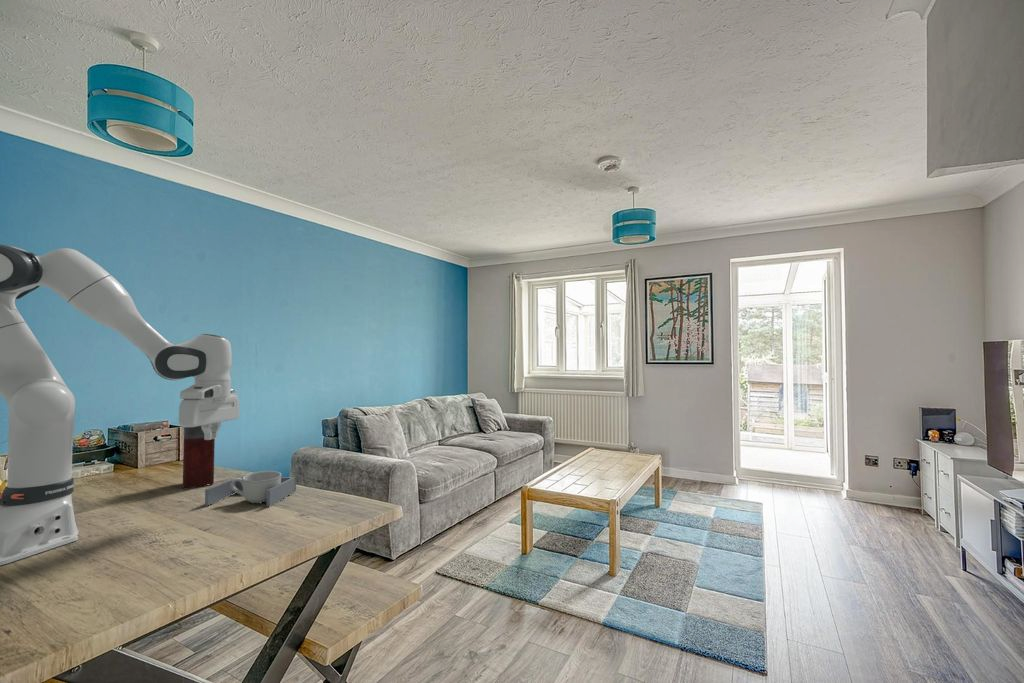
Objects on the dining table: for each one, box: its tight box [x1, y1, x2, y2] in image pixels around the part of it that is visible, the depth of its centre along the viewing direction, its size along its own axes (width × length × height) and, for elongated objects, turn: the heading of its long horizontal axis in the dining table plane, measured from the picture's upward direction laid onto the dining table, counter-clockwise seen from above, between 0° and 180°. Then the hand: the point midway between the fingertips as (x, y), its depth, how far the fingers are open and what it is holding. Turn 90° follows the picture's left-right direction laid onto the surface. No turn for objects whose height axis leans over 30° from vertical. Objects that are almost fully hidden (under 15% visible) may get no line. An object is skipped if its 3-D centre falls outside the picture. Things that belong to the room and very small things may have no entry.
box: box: [204, 476, 297, 507], centre depth 145 cm, size 15×20×5 cm
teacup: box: [230, 470, 282, 504], centre depth 143 cm, size 14×11×8 cm
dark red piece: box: [182, 426, 216, 489], centre depth 164 cm, size 9×11×28 cm
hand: (210, 439), depth 132 cm, fingers closed
